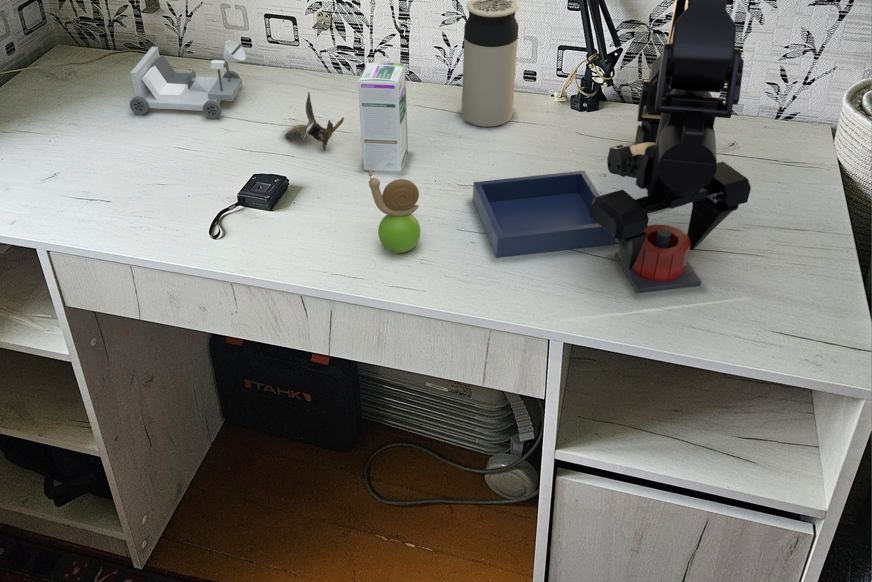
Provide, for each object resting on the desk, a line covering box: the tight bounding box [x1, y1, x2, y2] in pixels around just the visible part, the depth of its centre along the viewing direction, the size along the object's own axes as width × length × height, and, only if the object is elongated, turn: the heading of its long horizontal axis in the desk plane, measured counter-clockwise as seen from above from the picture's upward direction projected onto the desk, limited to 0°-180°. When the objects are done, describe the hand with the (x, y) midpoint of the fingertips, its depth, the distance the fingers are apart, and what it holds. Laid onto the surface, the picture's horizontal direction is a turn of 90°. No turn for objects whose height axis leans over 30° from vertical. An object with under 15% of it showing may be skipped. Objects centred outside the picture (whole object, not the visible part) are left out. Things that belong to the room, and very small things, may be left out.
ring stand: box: [614, 229, 702, 294], centre depth 115 cm, size 8×8×6 cm
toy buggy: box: [129, 39, 247, 120], centre depth 153 cm, size 18×10×12 cm
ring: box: [632, 224, 691, 282], centre depth 115 cm, size 7×7×4 cm
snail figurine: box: [367, 169, 421, 254], centre depth 118 cm, size 5×6×12 cm
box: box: [472, 170, 617, 259], centre depth 125 cm, size 16×14×3 cm
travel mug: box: [461, 0, 519, 128], centre depth 143 cm, size 8×8×18 cm
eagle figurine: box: [284, 91, 345, 152], centre depth 143 cm, size 8×7×9 cm
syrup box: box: [357, 61, 409, 173], centre depth 134 cm, size 6×6×14 cm
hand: (659, 257), depth 115 cm, fingers open, 9 cm apart
